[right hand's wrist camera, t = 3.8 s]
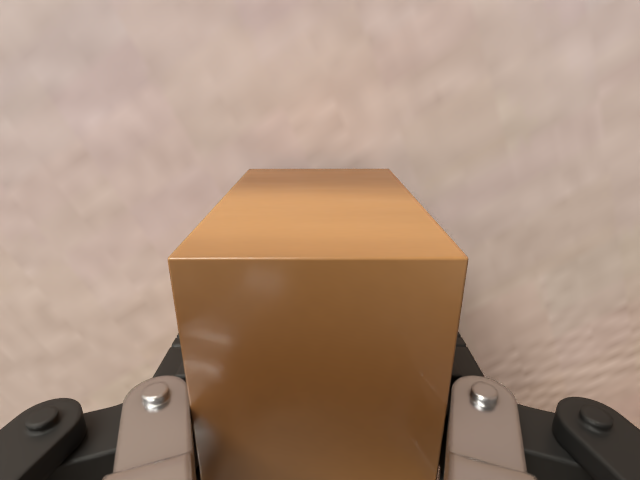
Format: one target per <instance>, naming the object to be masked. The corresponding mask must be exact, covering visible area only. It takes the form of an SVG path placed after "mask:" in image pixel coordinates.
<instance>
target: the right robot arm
mask: <svg viewBox="0 0 640 480" xmlns="http://www.w3.org/2000/svg"><path fill="white" fill-rule="evenodd" d="M439 466H440V471H439V480H640V430H639V429H638V428H637V427H636V426H634V425H633V424H632V423H631V422H629V421H628V420H627V419H626V418H624V417H623V416H622V415H620V414H619V413H618V412H616V411H615V410H613V409H612V408H610V407H608V406H606V405H604V404H602V403H600V402H597V401H594V400H591V399H587V398H582V397H568V398H565V399H563V400H561V401H560V402H559V403H558V405H557V408H556V412H555V413H552V412H548V411H543V410H539V409H535V408H530V407H526V406H523V405H519V404H517V401H516V399H515V397H514V395H513V394H512V393H511V392H510V391H509V390H508V389H507V388H506V387H505V386H503V385H502V384H500V383H498V382H496V381H494V380H492V379H489V378H486V377H484V375H483V373H482V372H481V370H480V368H479V367H478V365H477V363H476V361H475V360H474V358H473V356H472V354H471V353H470V351H469V349H468V347H466V344H465V342H464V340H463V339H462V338H461V335H460V334H459V332H458V334H457V341H456V348H455V355H454V362H453V369H452V376H451V382H450V389H449V396H448V403H447V410H446V417H445V424H444V431H443V438H442V445H441V452H440V459H439ZM0 480H201V476H200V469H199V463H198V456H197V450H196V443H195V436H194V430H193V423H192V417H191V410H190V404H189V397H188V390H187V384H186V377H185V371H184V364H183V357H182V351H181V344H180V338H179V333H178V335H177V338H176V339H175V340H174V342H173V344H172V347H170V349H169V350H168V352H167V354H166V356H165V357H164V359H163V361H162V362H161V364H160V366H159V368H158V369H157V371H156V373H155V374H154V376H153V378H151V379H148V380H146V381H144V382H142V383H140V384H138V385H137V386H135V387H134V388H133V389H132V390H131V391H130V392H129V393H128V394H127V395H126V397H125V399H124V401H123V403H122V404H119V405H117V406H113V407H109V408H105V409H101V410H97V411H92V412H88V413H84V414H83V411H82V407H81V405H80V404H79V402H77V401H76V400H73V399H69V398H59V399H52V400H48V401H45V402H42V403H40V404H37V405H35V406H33V407H31V408H29V409H27V410H26V411H24V412H22V413H21V414H20V415H18V416H17V417H16V418H14V419H13V420H12V421H11V422H9V423H8V424H7V425H6V426H4V427H3V428H2V429H1V430H0Z"/></svg>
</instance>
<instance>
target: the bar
mask: <svg viewBox="0 0 640 480" xmlns="http://www.w3.org/2000/svg"><path fill="white" fill-rule="evenodd" d="M168 265H169V272H170V278H171V285H172V292H173V298H174V305H175V311H176V318H177V324H178V331H179V338H180V344H181V351H182V357H183V364H184V371H185V377H186V384H187V390H188V397H189V404H190V410H191V417H192V423H193V430H194V436H195V443H196V450H197V456H198V463H199V469H200V476H201V480H436V479H437V472H438V465H439V459H440V452H441V445H442V438H443V431H444V424H445V417H446V410H447V403H448V396H449V389H450V382H451V376H452V369H453V362H454V355H455V348H456V341H457V334H458V327H459V320H460V313H461V306H462V299H463V293H464V286H465V279H466V272H467V265H468V257H467V256H466V255H465V254H464V252H463V251H462V250H461V249H460V248H459V247H458V246H457V245H456V244H455V242H454V241H453V240H452V239H451V238H450V237H449V236H448V235H447V233H446V232H445V231H444V230H443V229H442V228H441V227H440V226H439V224H438V223H437V222H436V221H435V220H434V219H433V218H432V217H431V216H430V214H429V213H428V212H427V211H426V210H425V209H424V208H423V207H422V205H421V204H420V203H419V202H418V201H417V200H416V199H415V198H414V197H413V195H412V194H411V193H410V192H409V191H408V190H407V189H406V188H405V186H404V185H403V184H402V183H401V182H400V181H399V180H398V179H397V177H396V176H395V175H394V174H393V173H392V172H391V171H390V170H389V169H249V170H248V171H247V172H246V173H245V174H244V175H243V177H242V178H241V179H240V180H239V181H238V182H237V183H236V184H235V185H234V186H233V187H232V189H231V190H230V191H229V192H228V193H227V194H226V195H225V196H224V197H223V198H222V199H221V201H220V202H219V203H218V204H217V205H216V206H215V207H214V208H213V209H212V210H211V211H210V213H209V214H208V215H207V216H206V217H205V218H204V219H203V220H202V221H201V222H200V223H199V225H198V226H197V227H196V228H195V229H194V230H193V231H192V232H191V233H190V234H189V235H188V237H187V238H186V239H185V240H184V241H183V242H182V243H181V244H180V245H179V246H178V247H177V249H176V250H175V251H174V252H173V253H172V254H171V255H170V256H169V257H168Z"/></svg>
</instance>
